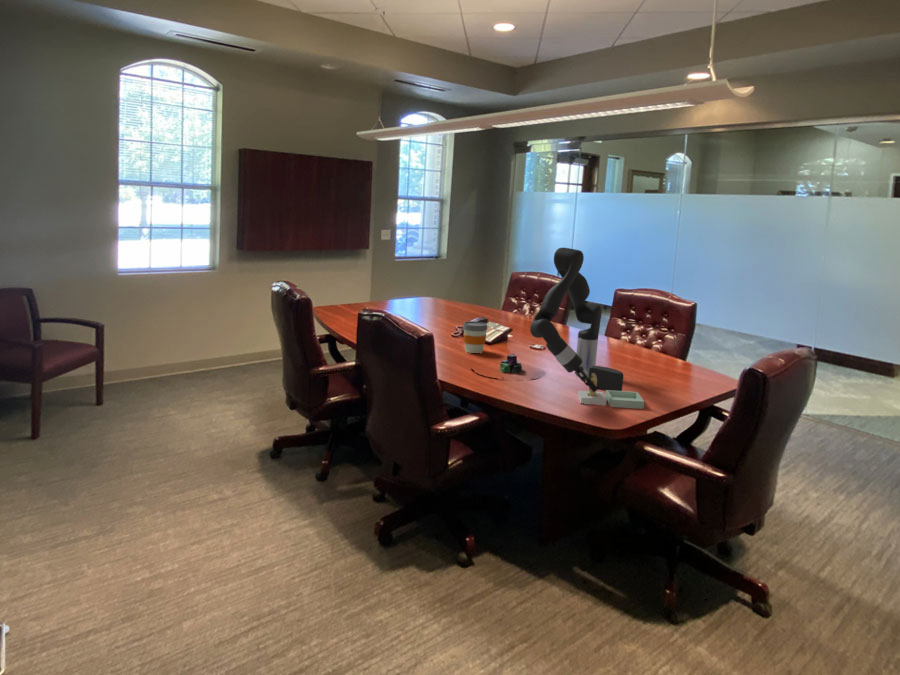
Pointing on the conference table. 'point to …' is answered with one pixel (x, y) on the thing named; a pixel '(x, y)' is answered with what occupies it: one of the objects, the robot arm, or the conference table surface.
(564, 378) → the conference table surface
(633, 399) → the tray
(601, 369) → the leaning round-cornered charcoal block
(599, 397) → the cover plate
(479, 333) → the reusable coffee cup
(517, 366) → the mineral sample
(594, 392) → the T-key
